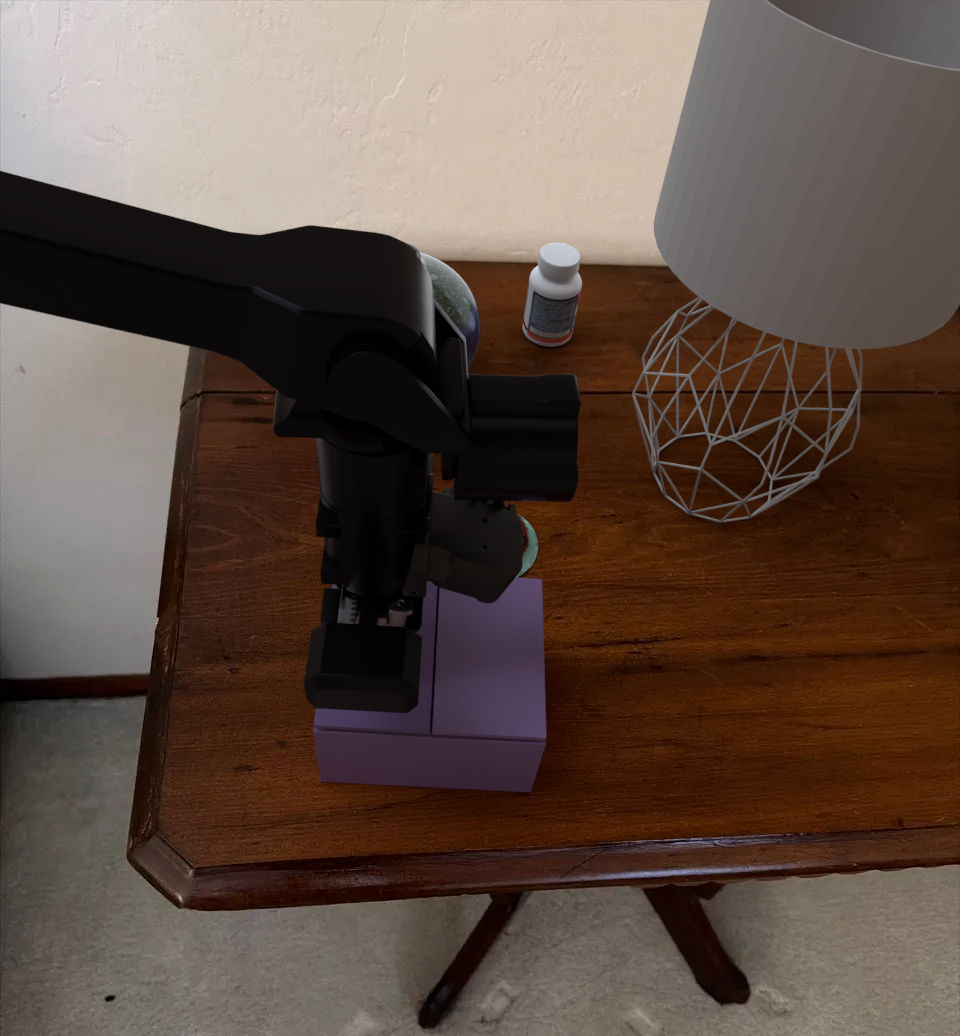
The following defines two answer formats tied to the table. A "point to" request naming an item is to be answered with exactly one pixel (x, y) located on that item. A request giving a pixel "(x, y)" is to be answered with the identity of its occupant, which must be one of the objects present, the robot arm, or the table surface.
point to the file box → (463, 704)
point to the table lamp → (813, 193)
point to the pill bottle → (553, 295)
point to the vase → (454, 301)
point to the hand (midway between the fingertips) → (376, 643)
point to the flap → (387, 721)
